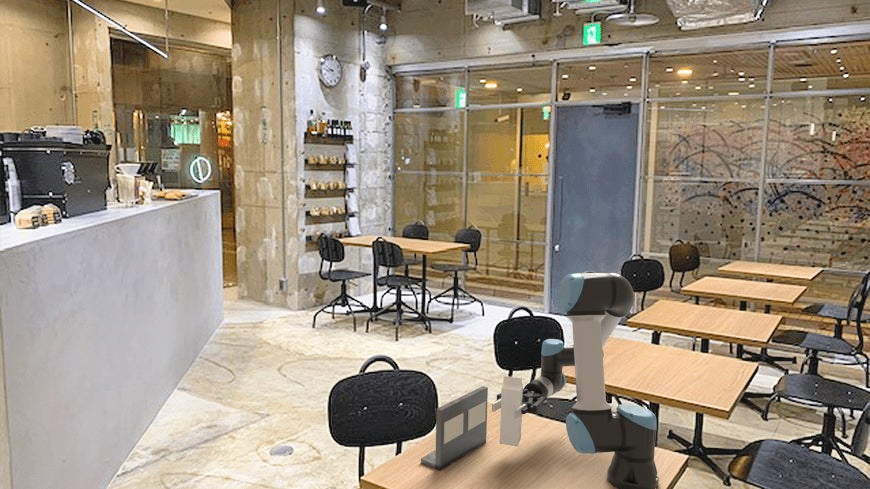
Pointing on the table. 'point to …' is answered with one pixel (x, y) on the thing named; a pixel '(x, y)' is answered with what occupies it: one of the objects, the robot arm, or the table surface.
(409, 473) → the table surface
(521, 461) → the table surface
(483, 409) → the label panel
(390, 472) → the table surface
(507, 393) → the milk
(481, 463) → the table surface
